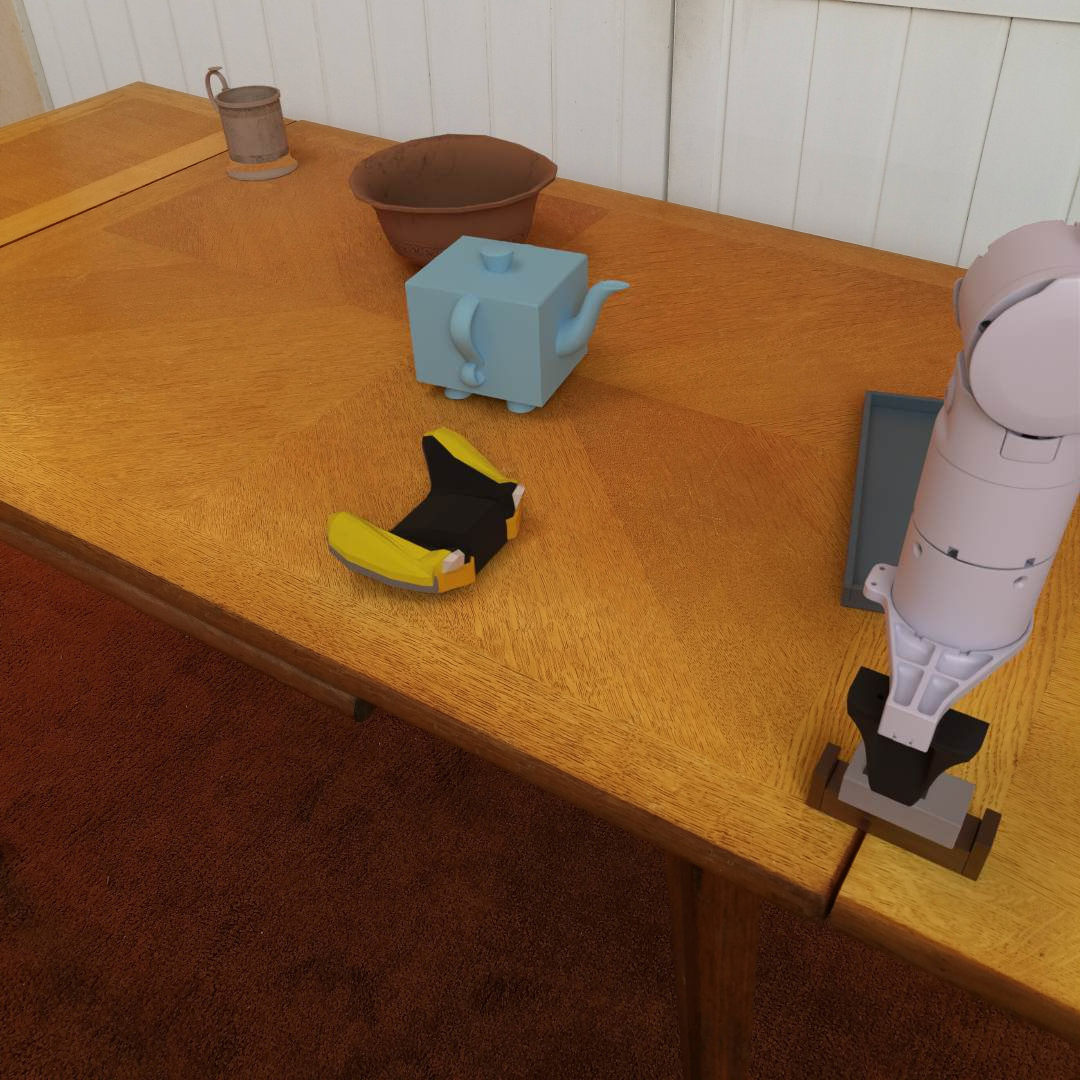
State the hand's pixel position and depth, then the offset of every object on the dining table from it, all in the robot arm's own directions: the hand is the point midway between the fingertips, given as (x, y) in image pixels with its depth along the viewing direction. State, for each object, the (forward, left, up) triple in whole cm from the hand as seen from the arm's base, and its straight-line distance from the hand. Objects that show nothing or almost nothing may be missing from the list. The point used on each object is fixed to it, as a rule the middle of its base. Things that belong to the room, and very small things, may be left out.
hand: (915, 738), depth 50 cm
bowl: (+48, -62, -7) cm, 79 cm away
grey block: (0, 0, -5) cm, 5 cm away
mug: (+89, -87, -7) cm, 124 cm away
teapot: (+32, -39, -7) cm, 51 cm away
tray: (-1, -30, -7) cm, 31 cm away
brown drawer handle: (0, 0, -7) cm, 7 cm away
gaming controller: (+32, -16, -7) cm, 37 cm away
